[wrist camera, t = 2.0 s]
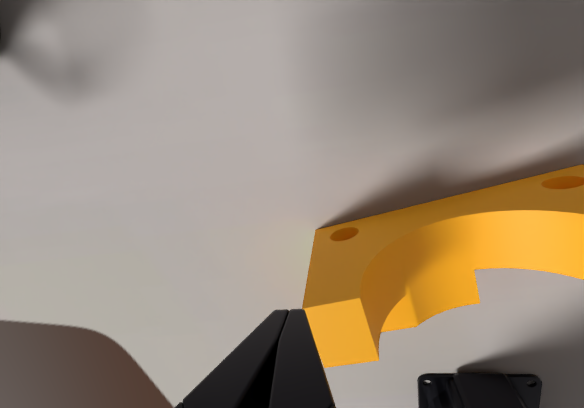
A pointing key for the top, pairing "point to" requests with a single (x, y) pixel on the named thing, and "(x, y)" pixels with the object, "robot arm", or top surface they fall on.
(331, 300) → the pipe clamp
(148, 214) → the top surface
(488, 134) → the top surface
